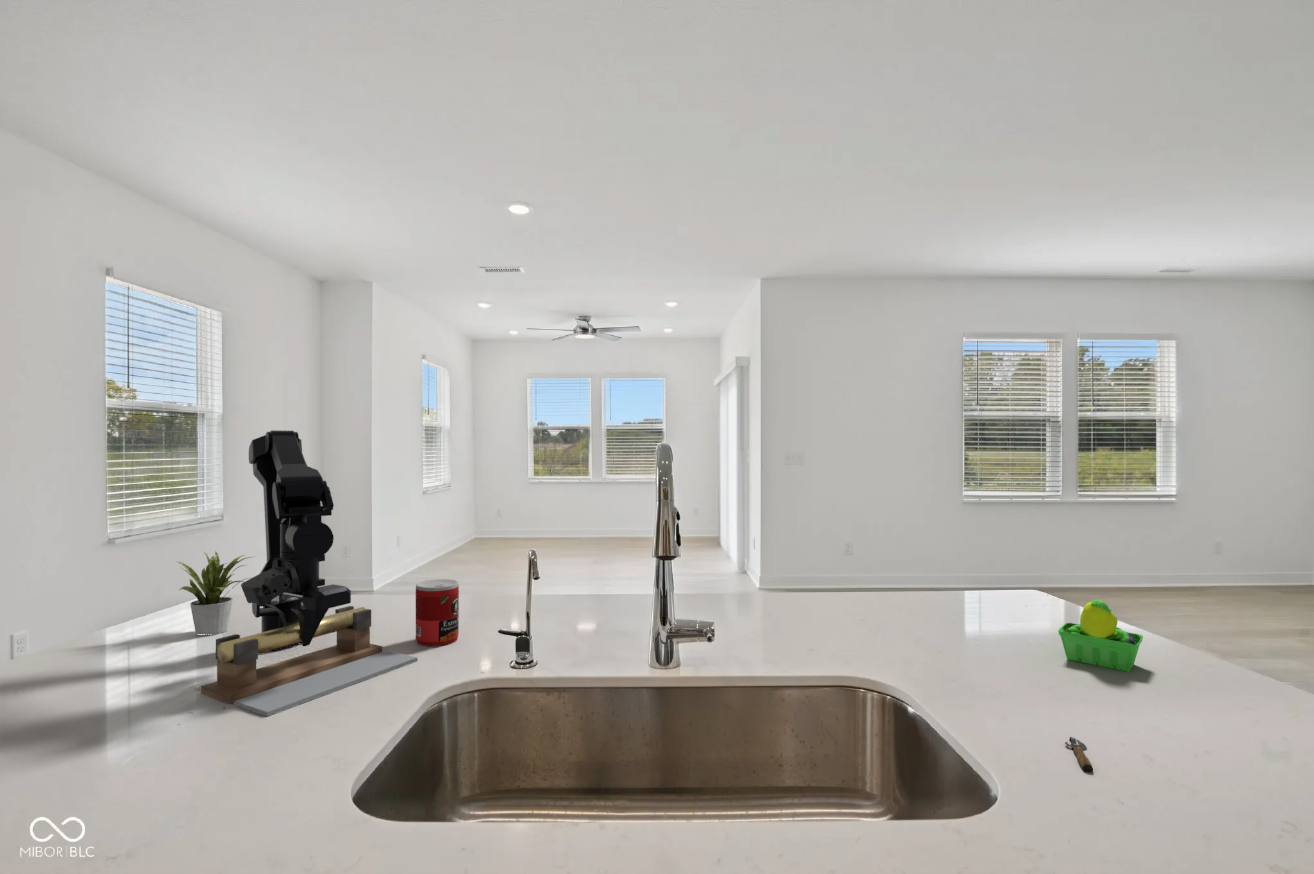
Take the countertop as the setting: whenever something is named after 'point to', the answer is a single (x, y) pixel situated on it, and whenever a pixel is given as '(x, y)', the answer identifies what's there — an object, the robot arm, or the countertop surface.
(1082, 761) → the can opener
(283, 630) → the rail
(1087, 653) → the fruit basket
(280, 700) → the mat
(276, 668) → the stand
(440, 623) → the canned food
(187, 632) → the countertop surface
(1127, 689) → the countertop surface
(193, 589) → the house plant
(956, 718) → the countertop surface
